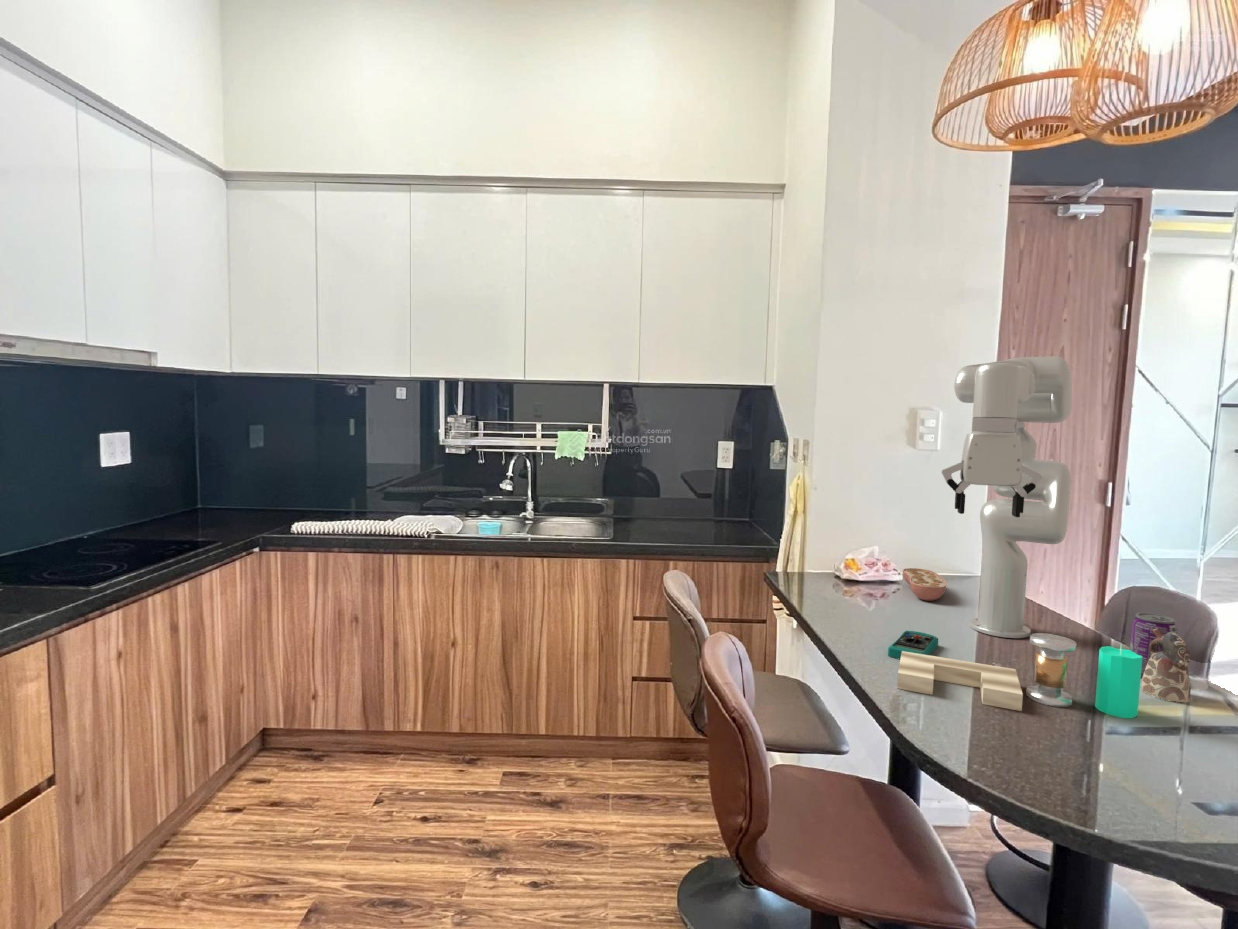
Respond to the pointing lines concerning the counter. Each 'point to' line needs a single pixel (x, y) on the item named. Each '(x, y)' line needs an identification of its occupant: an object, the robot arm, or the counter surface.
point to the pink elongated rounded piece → (925, 583)
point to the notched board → (961, 678)
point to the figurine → (1168, 668)
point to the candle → (1118, 682)
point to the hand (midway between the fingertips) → (987, 514)
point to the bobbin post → (1051, 670)
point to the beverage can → (1148, 634)
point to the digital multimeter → (913, 644)
